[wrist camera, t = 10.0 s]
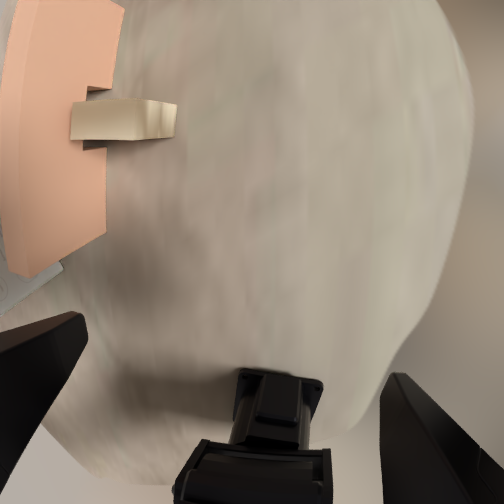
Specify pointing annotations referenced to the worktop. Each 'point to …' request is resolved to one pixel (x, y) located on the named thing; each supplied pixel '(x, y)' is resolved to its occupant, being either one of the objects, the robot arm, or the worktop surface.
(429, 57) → the worktop surface
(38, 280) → the small box
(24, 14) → the terracotta plate
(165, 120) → the birch notched block
